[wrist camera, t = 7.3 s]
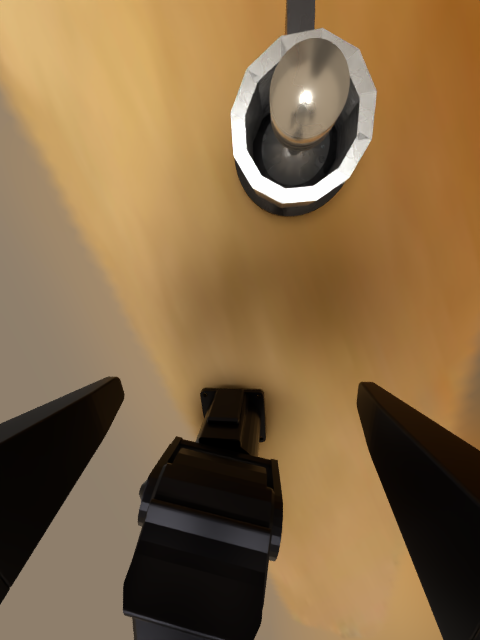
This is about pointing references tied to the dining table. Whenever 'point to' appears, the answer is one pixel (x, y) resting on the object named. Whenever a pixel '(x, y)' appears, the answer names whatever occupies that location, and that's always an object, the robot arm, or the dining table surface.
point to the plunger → (304, 109)
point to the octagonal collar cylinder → (255, 117)
